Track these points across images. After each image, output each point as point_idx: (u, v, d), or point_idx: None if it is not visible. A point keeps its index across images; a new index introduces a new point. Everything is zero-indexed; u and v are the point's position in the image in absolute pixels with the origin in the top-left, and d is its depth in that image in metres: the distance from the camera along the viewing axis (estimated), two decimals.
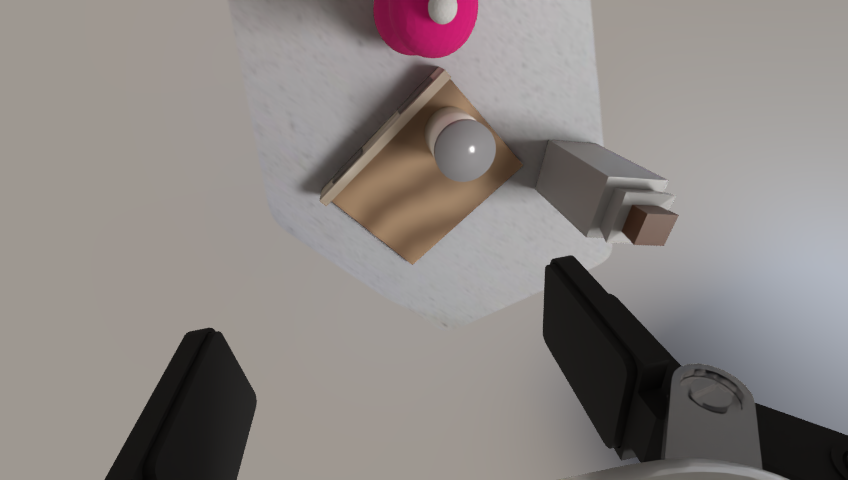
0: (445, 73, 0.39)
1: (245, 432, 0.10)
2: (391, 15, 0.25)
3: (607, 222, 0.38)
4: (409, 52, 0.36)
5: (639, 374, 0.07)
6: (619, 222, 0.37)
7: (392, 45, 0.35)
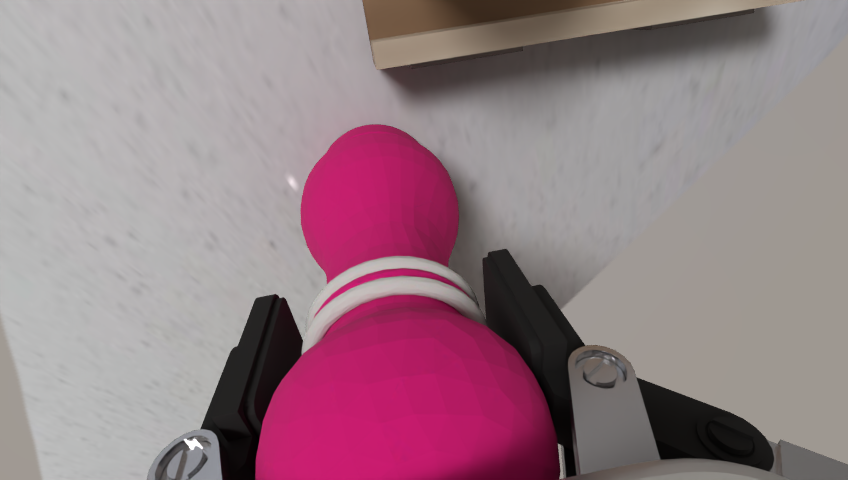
0: (379, 61, 0.15)
1: None
2: None
3: None
4: (437, 175, 0.16)
5: (542, 355, 0.08)
6: None
7: (456, 202, 0.17)
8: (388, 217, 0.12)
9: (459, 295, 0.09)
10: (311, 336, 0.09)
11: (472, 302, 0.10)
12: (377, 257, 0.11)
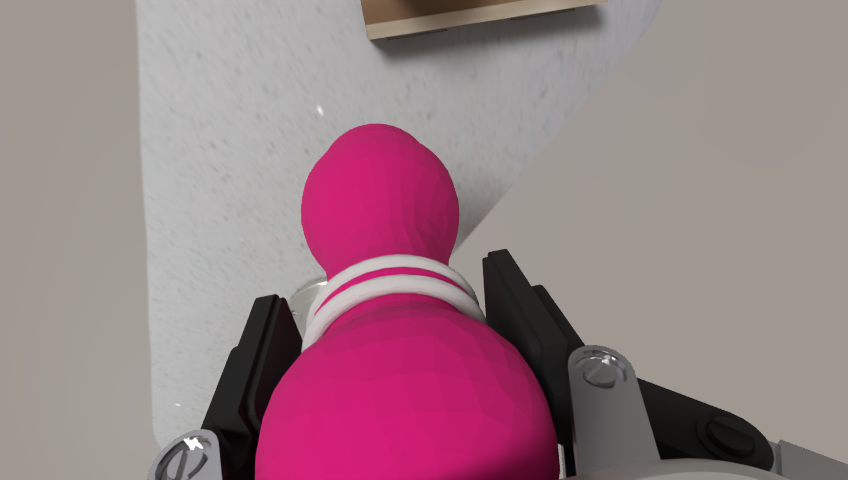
0: (370, 35, 0.30)
1: None
2: None
3: None
4: (437, 174, 0.16)
5: (542, 355, 0.08)
6: None
7: (456, 201, 0.17)
8: (388, 216, 0.12)
9: (459, 293, 0.09)
10: (311, 334, 0.09)
11: (472, 300, 0.10)
12: (377, 256, 0.11)
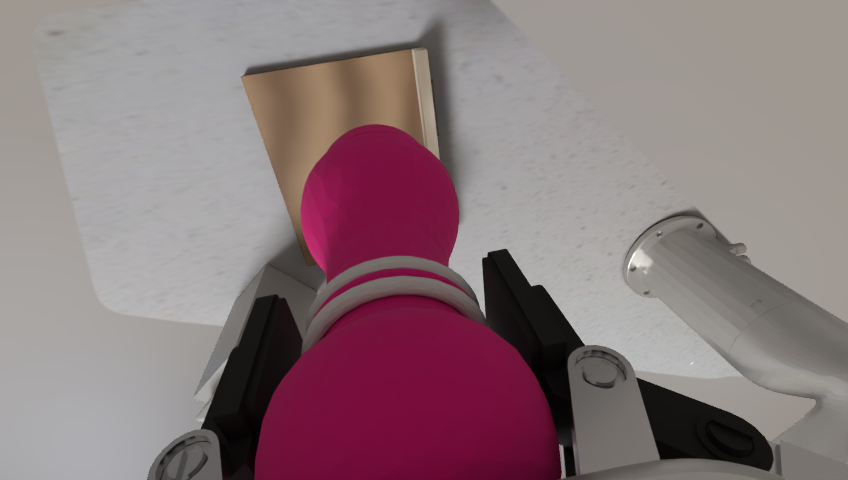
0: None
1: None
2: None
3: None
4: (437, 175, 0.16)
5: (542, 355, 0.08)
6: None
7: (456, 202, 0.17)
8: (388, 217, 0.12)
9: (459, 295, 0.09)
10: (311, 336, 0.09)
11: (472, 302, 0.10)
12: (377, 257, 0.11)
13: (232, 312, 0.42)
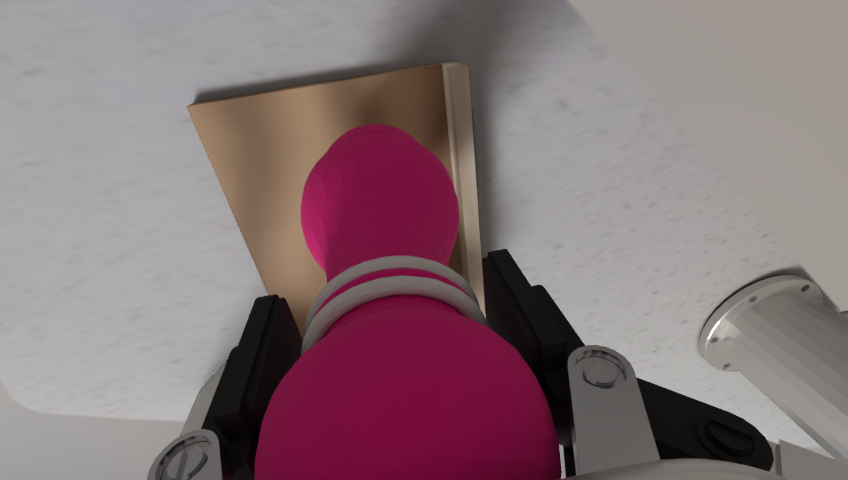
0: None
1: None
2: None
3: None
4: (437, 175, 0.15)
5: (542, 355, 0.08)
6: None
7: (456, 201, 0.17)
8: (388, 217, 0.12)
9: (459, 295, 0.09)
10: (311, 336, 0.09)
11: (472, 302, 0.10)
12: (377, 257, 0.11)
13: (191, 416, 0.31)
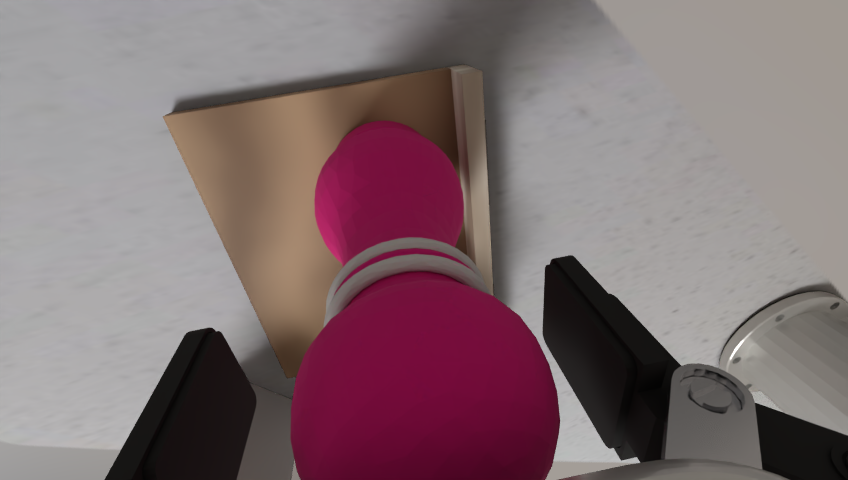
0: None
1: (245, 432, 0.10)
2: None
3: None
4: (443, 167, 0.16)
5: (639, 374, 0.07)
6: None
7: (461, 193, 0.18)
8: (399, 205, 0.13)
9: (467, 272, 0.10)
10: (333, 309, 0.10)
11: (479, 279, 0.11)
12: (391, 240, 0.12)
13: None
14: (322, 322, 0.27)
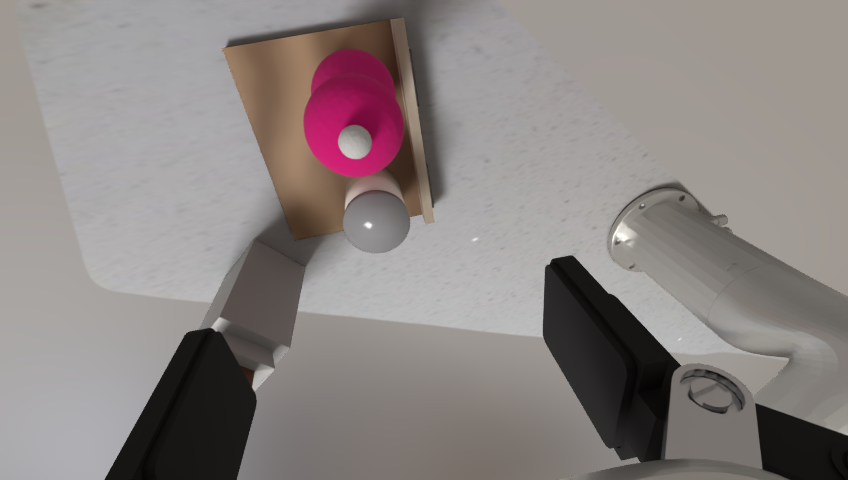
0: (431, 221, 0.42)
1: (245, 432, 0.10)
2: None
3: (236, 343, 0.33)
4: (380, 67, 0.31)
5: (639, 374, 0.07)
6: (237, 358, 0.32)
7: (392, 84, 0.32)
8: None
9: None
10: None
11: None
12: None
13: (221, 287, 0.43)
14: (317, 196, 0.41)
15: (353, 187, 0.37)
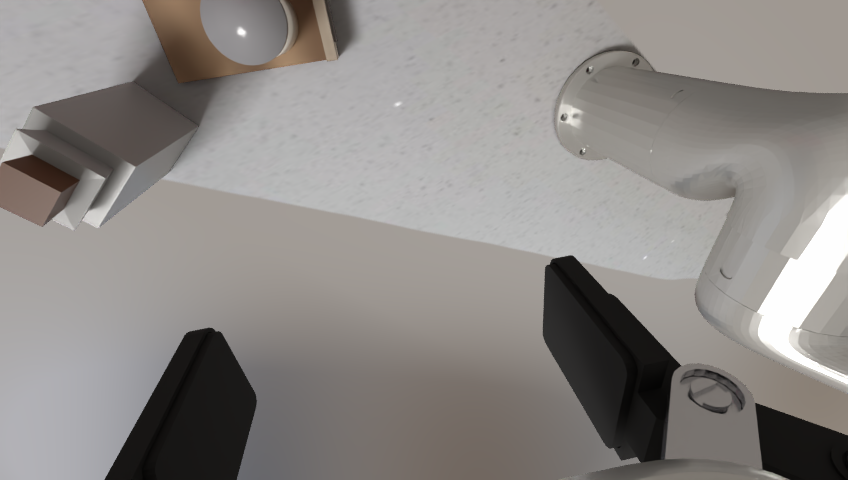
0: (333, 58, 0.36)
1: (245, 432, 0.10)
2: None
3: (55, 142, 0.27)
4: None
5: (639, 374, 0.07)
6: (52, 157, 0.26)
7: None
8: None
9: None
10: None
11: None
12: None
13: None
14: (199, 22, 0.35)
15: None
